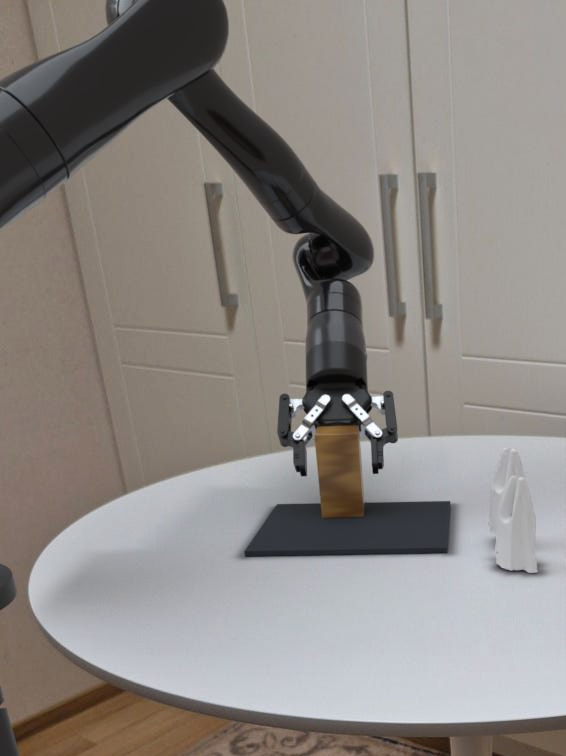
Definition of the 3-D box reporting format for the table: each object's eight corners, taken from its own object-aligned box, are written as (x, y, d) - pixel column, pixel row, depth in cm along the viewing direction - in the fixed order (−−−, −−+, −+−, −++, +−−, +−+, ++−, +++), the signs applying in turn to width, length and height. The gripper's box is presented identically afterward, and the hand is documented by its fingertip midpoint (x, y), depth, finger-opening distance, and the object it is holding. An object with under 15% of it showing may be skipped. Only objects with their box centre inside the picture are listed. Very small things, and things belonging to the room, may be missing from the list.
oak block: (322, 518, 106) (314, 435, 102) (324, 506, 111) (317, 426, 107) (363, 516, 107) (357, 433, 103) (364, 505, 111) (359, 424, 107)
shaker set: (487, 537, 101) (486, 440, 96) (524, 536, 101) (524, 439, 96) (498, 575, 90) (497, 467, 85) (539, 573, 90) (540, 465, 86)
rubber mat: (244, 556, 96) (244, 551, 96) (277, 508, 113) (276, 503, 112) (447, 552, 96) (447, 547, 96) (450, 505, 113) (450, 500, 113)
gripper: (273, 340, 107) (273, 457, 101) (392, 337, 108) (398, 452, 102) (283, 379, 114) (283, 490, 108) (394, 375, 115) (400, 485, 109)
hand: (339, 471), depth 105 cm, fingers open, 8 cm apart
